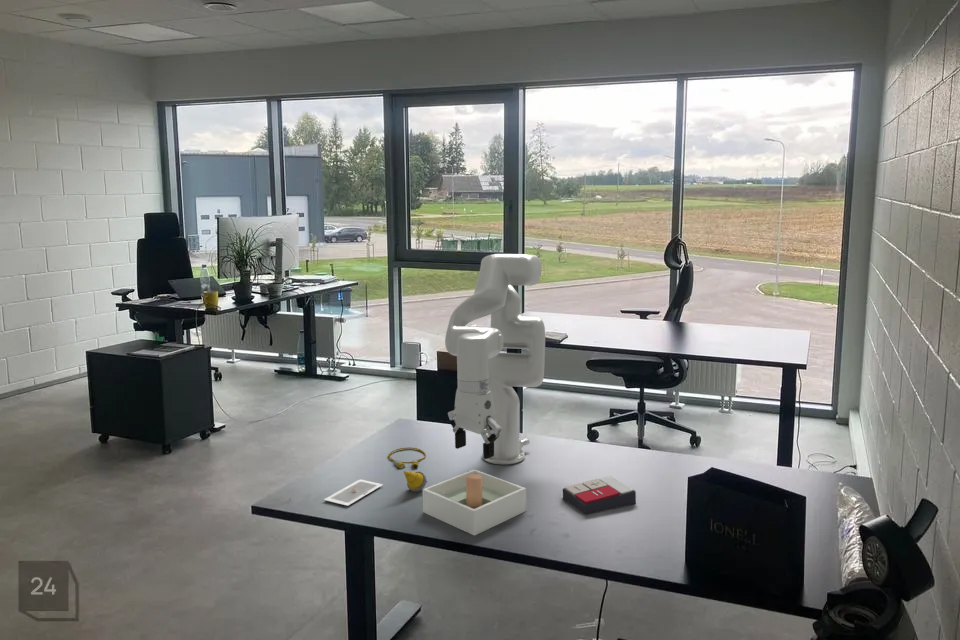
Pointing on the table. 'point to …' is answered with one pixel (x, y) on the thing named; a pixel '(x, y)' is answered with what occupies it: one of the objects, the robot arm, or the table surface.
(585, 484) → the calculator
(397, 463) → the extension cord
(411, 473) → the yellow tapered spiral part
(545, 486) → the table surface
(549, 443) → the table surface
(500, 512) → the holed box
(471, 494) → the peg
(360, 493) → the white grey flat rectangle
